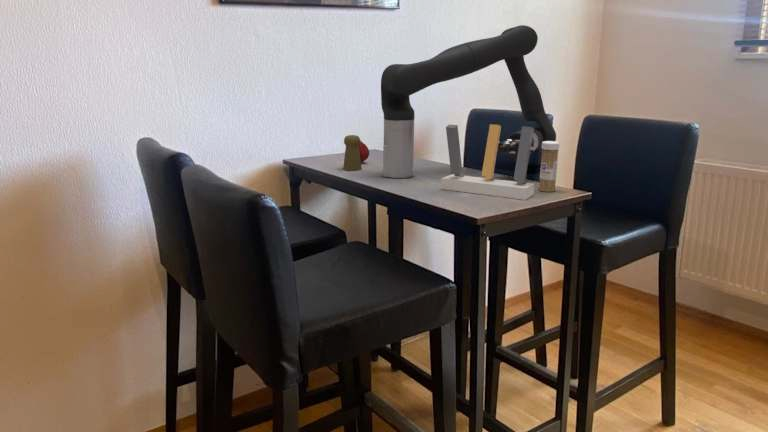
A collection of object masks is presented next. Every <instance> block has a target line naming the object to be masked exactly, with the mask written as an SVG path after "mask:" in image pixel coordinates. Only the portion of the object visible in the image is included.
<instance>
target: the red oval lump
mask: <svg viewBox="0 0 768 432" xmlns="http://www.w3.org/2000/svg"><path fill="white" fill-rule="evenodd" d="M359 153H360V160H361V164H362V163H364V162H365V161H366V160H368V158H369V157H370V149H369V148H368V146H367V145H366V144H365V143H364V142H363V141H362V140H361V139H360V144H359Z"/></svg>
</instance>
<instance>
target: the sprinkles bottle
mask: <svg viewBox="0 0 768 432" xmlns="http://www.w3.org/2000/svg"><path fill="white" fill-rule="evenodd" d="M559 150H560V142H558V141H543V142H542V147H541V159H540V160H541V162H540V167H539V169H540V171H539V184H538V190H539V191H541V192H545V193H547V192H548V193H550V192H551V193H552V192H555V191H556V184H557V183H556V181H557V172H558V171H557V170H558V163H559V162H558V157H559Z"/></svg>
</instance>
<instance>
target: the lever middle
mask: <svg viewBox="0 0 768 432" xmlns="http://www.w3.org/2000/svg"><path fill="white" fill-rule="evenodd" d="M488 128H489V129H488V133H487V139H486V146H485V151H484V159H483V164H482V170H481V176H482V177H483V178H485V180H490V179H491V178H494V172H495V167H496V160H497V154H498V151H497V149H498V143H499V141H500V136H501V130H502V126H501V125H500V124H491V123H490V124H489V127H488Z"/></svg>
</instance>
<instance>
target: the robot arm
mask: <svg viewBox="0 0 768 432" xmlns="http://www.w3.org/2000/svg"><path fill="white" fill-rule="evenodd" d="M538 40H539V37H538V34H537V32H536V31H535V29H534V28H532V27H531V26H529V25H523V24H521V25H517V26H513V27H510V28H508V29H507V28H506V29H505V30H504V31H502V32H501V34H499V35H496V36H493V37H488V38H487V37H486V38H482V39H476V40H472V41H468V42H465V43H461V44H458V45H454V46H451V47H449V48H446V49H444V50H443V51H441V52H440V53H438V54H437V55H435V56H434V57H431V58H430V59H426V60H423V61H419V62H414V63H405V64H404V63H402V64H401V63H394V64H393V63H392V64H390V65H388V66H387V67H385V68H384V69H383V72H382V74H381V77H380V101H381V103H380V104H381V109H382V112H383V146H382V147H383V149H382V150H383V151H382V152H383V156H382V157H383V165H382V166H383V170H382V172H383V174H382V175H383V176H382V177H383V178H393V179H406V178H412V177H413V176H414V173H415V172H414V171H415V170H414V169H415V167H414V163H415V161H414V159H415V156H414V155H415V110H414V108H413V106H412V105H411V100H410V96H412V95H413V94H416V93H417V92H420V91H422V90H424V89H426V88H428V87H431V86H434V85H435V84H440V83H443V82H448V81H450V80H454V79H458V78H462V77H464V76H467V75H470V74H473V73H476V72H478V71H481V70H482V69H486V68H488V67H490V66H492V65H494V64H497V63H498V62H500V61H501V62H502V61H503V60H504V62H505V64H506V67H507V69H508V72H509V75H510V77H511V80H512V83H513V85H514V87H515V91H516V94H517V97H518V101H519V106H520V110H521V113H522V114H521V115H522V118H523V120H524V121H526V122H536V123H537V124H538V125H539V126H534V127H533V128H534V131H533V137H532V143H531V149H530V154H532V153H534V151H536V150H538V149H542V142H543V141H555V142H557V134H556V131H555V128H554V126H553V124H552V123H551V121H550V119H549V117H548V115H547V114H546V113H547V112H546V110H545V107H544V103H543V99H542V95H541V92H540V89H539V87H538V85H537V84H536V81H534V79H533V77H532V76H531V73H530V72H529V71H528V67H527V65H526V61H525V58H524V57H525V56H526V55H529V54H530V53H532V52H533V51H534V50H535V49H536V46H537V44H538ZM521 131H522V130H519V131H515V132H513V133H511V134H510V135H508V137H507V139H506V140H503V141H500V140H499V143H498V149H497V153H499V154H501V155H506V154H510V155H511V156H513V157H516V158H517V155H518V149H519V143H520V137H521Z"/></svg>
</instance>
